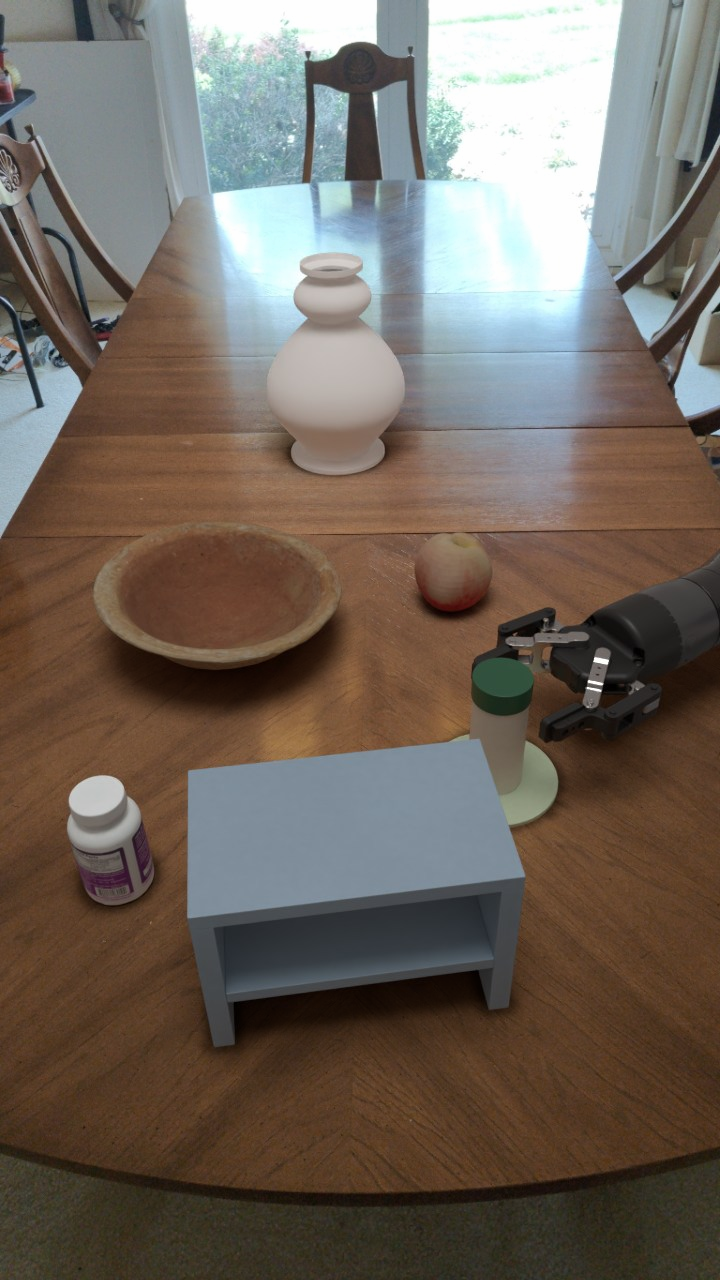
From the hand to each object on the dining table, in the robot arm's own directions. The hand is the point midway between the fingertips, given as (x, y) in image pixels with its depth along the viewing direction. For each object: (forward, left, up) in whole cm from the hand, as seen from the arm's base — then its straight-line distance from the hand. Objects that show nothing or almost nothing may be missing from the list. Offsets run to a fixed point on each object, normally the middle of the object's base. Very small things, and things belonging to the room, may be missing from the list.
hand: (506, 701), depth 79 cm
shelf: (-15, +15, -8) cm, 23 cm away
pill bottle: (-6, +32, -9) cm, 34 cm away
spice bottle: (0, +1, -8) cm, 8 cm away
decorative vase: (+62, +7, -9) cm, 63 cm away
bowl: (+23, +23, -9) cm, 33 cm away
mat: (0, +1, -8) cm, 9 cm away
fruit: (+26, -1, -9) cm, 27 cm away
